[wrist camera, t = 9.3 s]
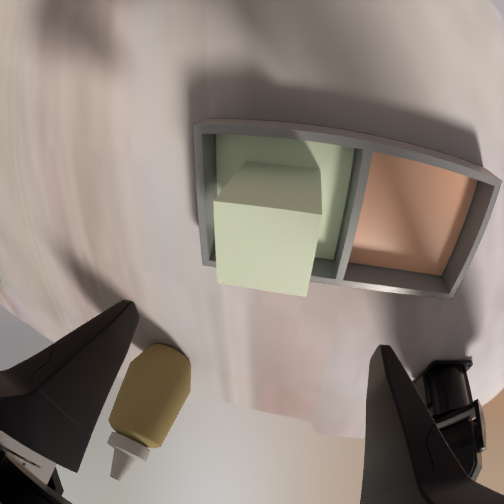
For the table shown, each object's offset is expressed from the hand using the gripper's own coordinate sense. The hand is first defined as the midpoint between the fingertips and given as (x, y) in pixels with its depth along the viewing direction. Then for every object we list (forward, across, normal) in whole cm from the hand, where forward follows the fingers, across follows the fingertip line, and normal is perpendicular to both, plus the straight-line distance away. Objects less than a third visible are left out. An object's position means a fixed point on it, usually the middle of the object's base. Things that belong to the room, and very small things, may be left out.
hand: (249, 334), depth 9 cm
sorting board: (+11, -4, 0) cm, 12 cm away
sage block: (+10, 0, 0) cm, 10 cm away
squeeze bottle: (+11, +12, +23) cm, 28 cm away
